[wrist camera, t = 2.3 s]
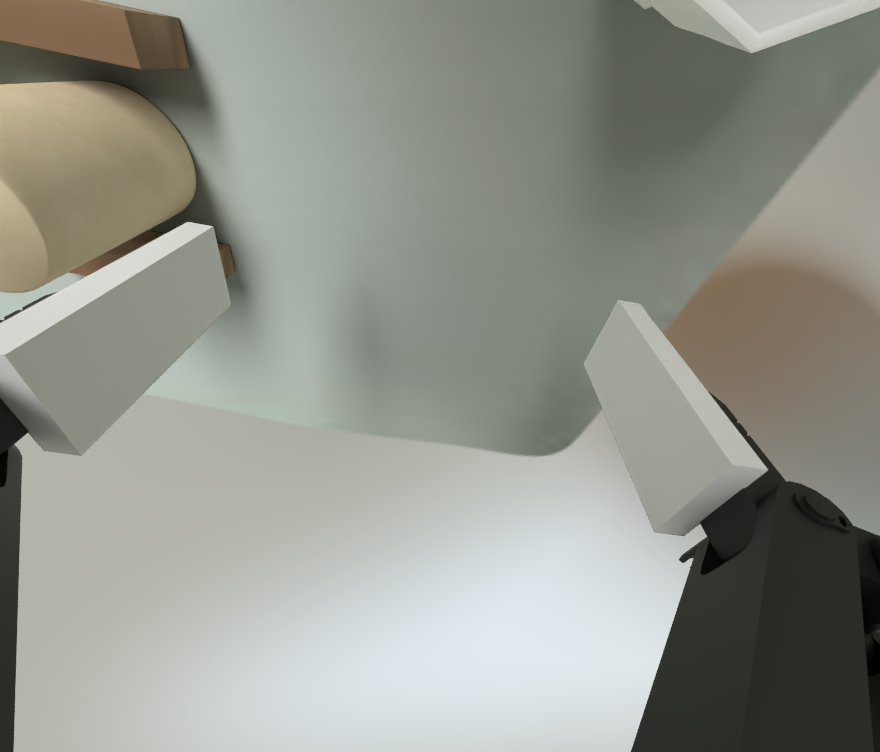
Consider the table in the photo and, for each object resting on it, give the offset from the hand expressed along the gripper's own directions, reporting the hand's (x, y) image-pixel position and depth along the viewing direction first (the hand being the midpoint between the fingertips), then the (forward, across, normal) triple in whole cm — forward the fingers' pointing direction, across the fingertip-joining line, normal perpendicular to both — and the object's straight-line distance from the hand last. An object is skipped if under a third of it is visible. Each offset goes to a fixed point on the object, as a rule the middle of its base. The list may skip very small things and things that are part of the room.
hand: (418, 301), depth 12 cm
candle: (+8, -14, +1) cm, 17 cm away
